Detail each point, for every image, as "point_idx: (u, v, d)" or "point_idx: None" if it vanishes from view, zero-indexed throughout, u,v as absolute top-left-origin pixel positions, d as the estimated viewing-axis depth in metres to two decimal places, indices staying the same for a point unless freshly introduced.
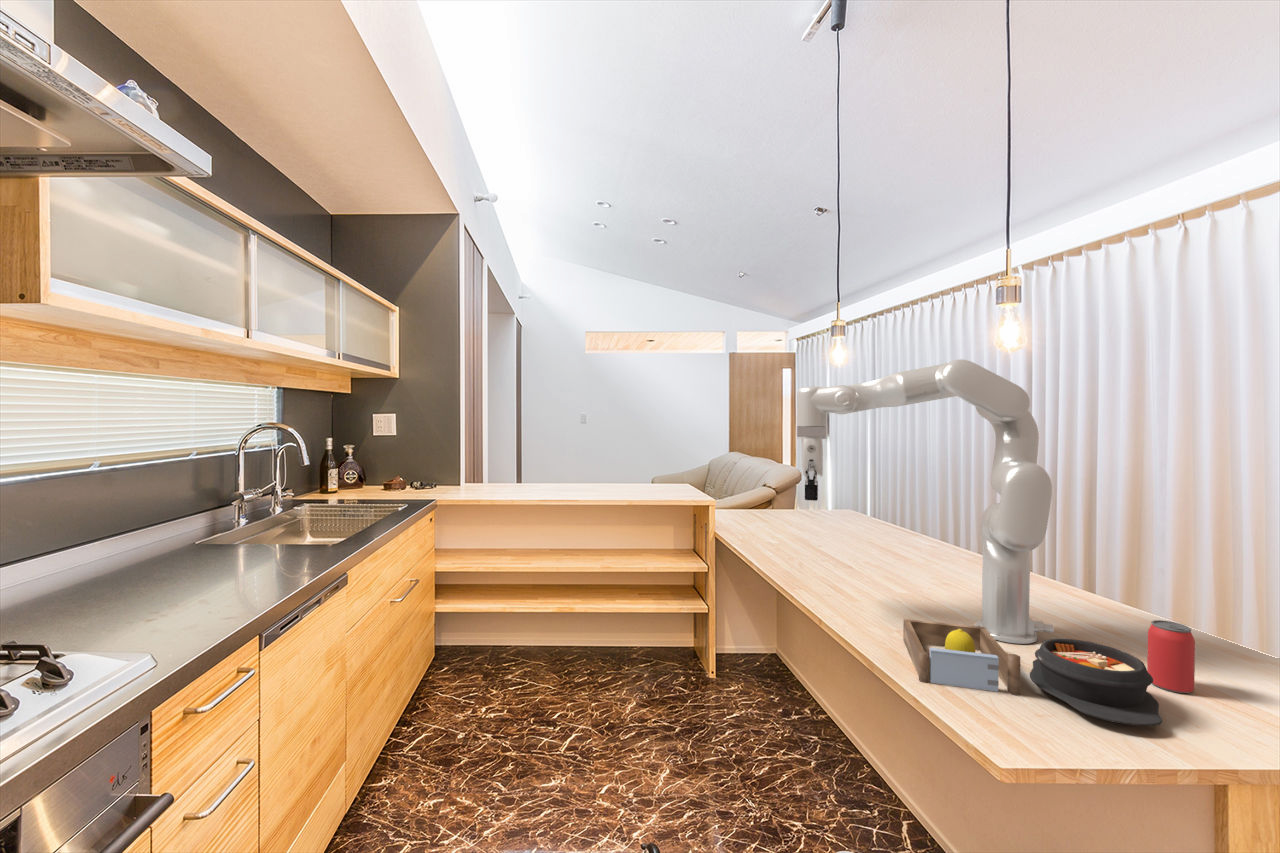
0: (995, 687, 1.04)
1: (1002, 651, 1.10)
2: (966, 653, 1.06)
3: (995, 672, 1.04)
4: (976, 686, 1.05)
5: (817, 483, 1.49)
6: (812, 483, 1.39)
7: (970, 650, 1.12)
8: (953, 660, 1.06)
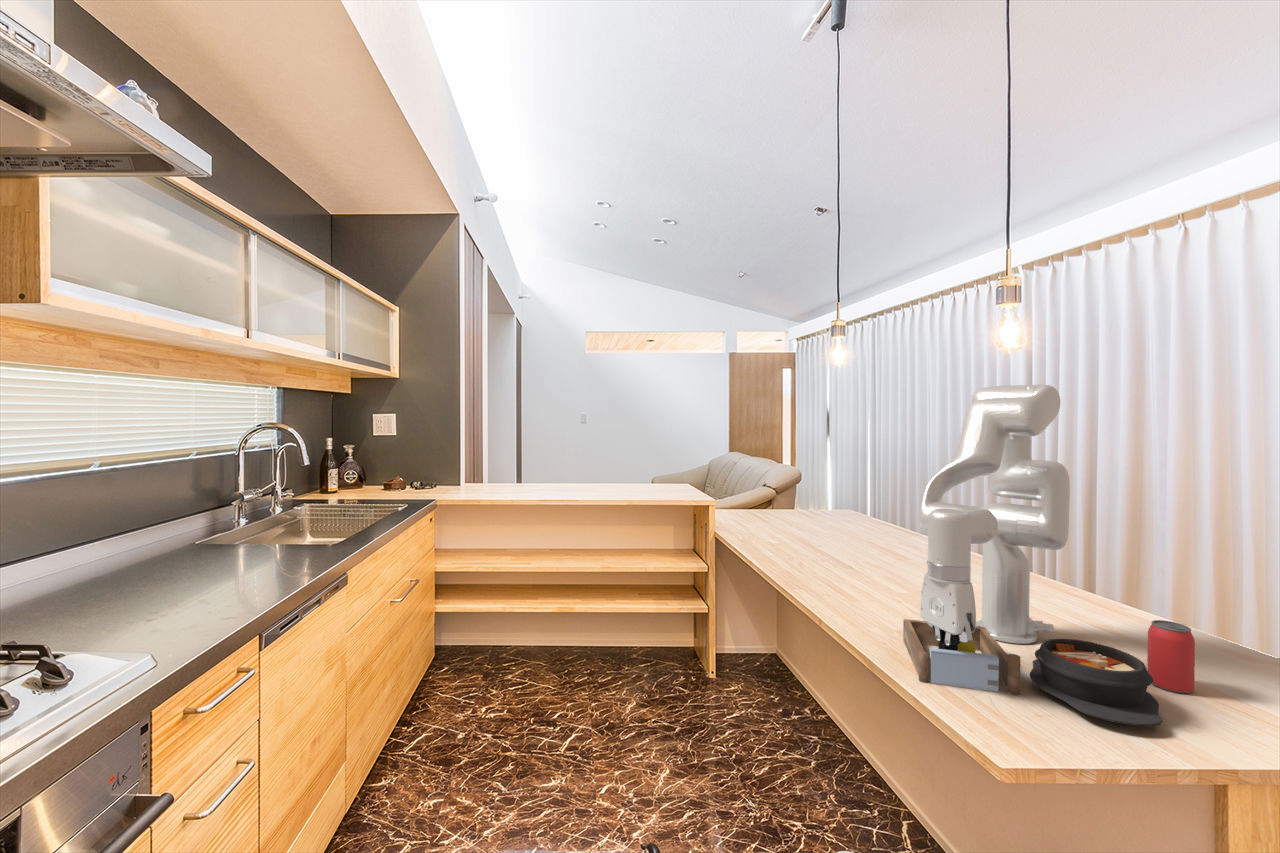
0: (995, 687, 1.04)
1: (1002, 651, 1.10)
2: (966, 653, 1.06)
3: (996, 672, 1.04)
4: (977, 686, 1.05)
5: (942, 647, 1.09)
6: None
7: (970, 650, 1.12)
8: (953, 660, 1.06)
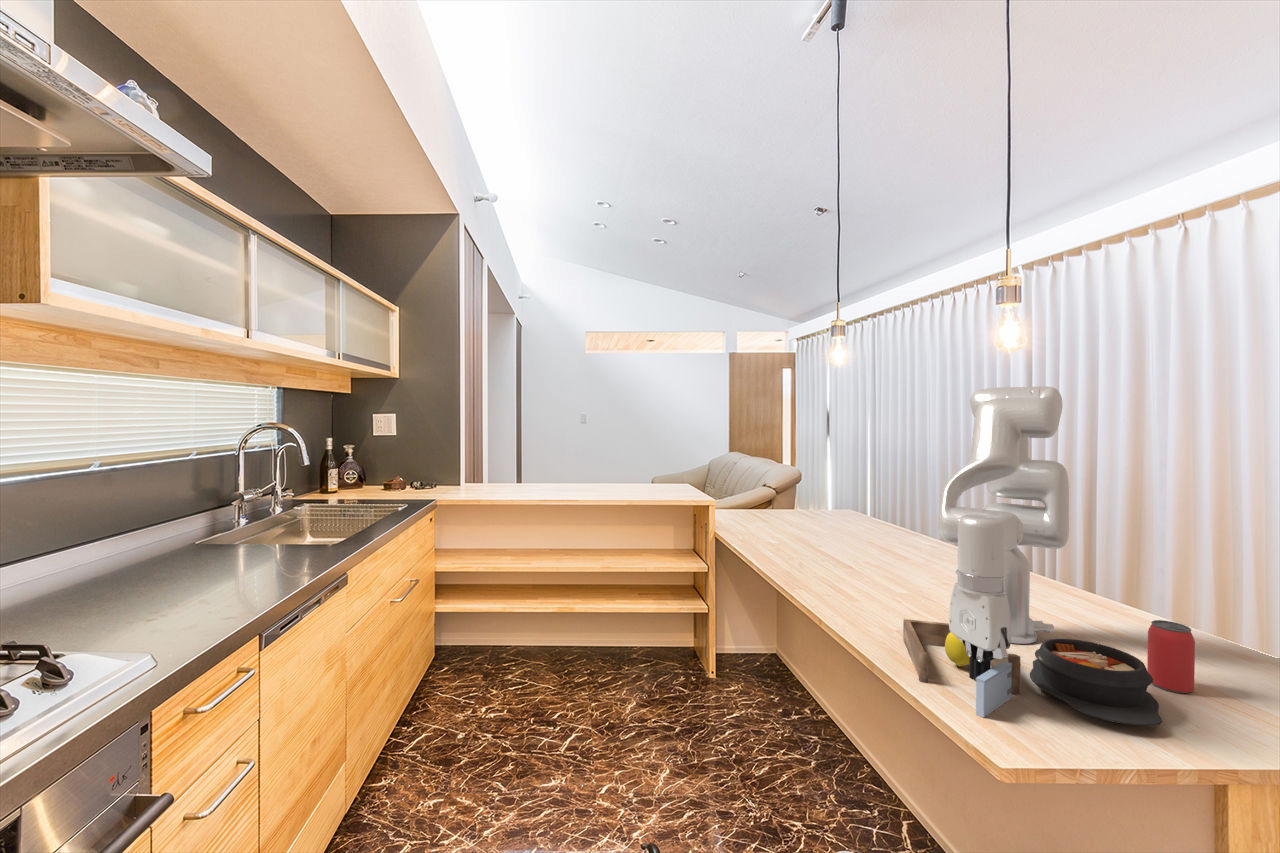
0: (1010, 694, 1.01)
1: None
2: (996, 670, 0.99)
3: (1010, 679, 1.01)
4: (1003, 701, 0.99)
5: (974, 663, 1.01)
6: None
7: None
8: (993, 683, 0.97)
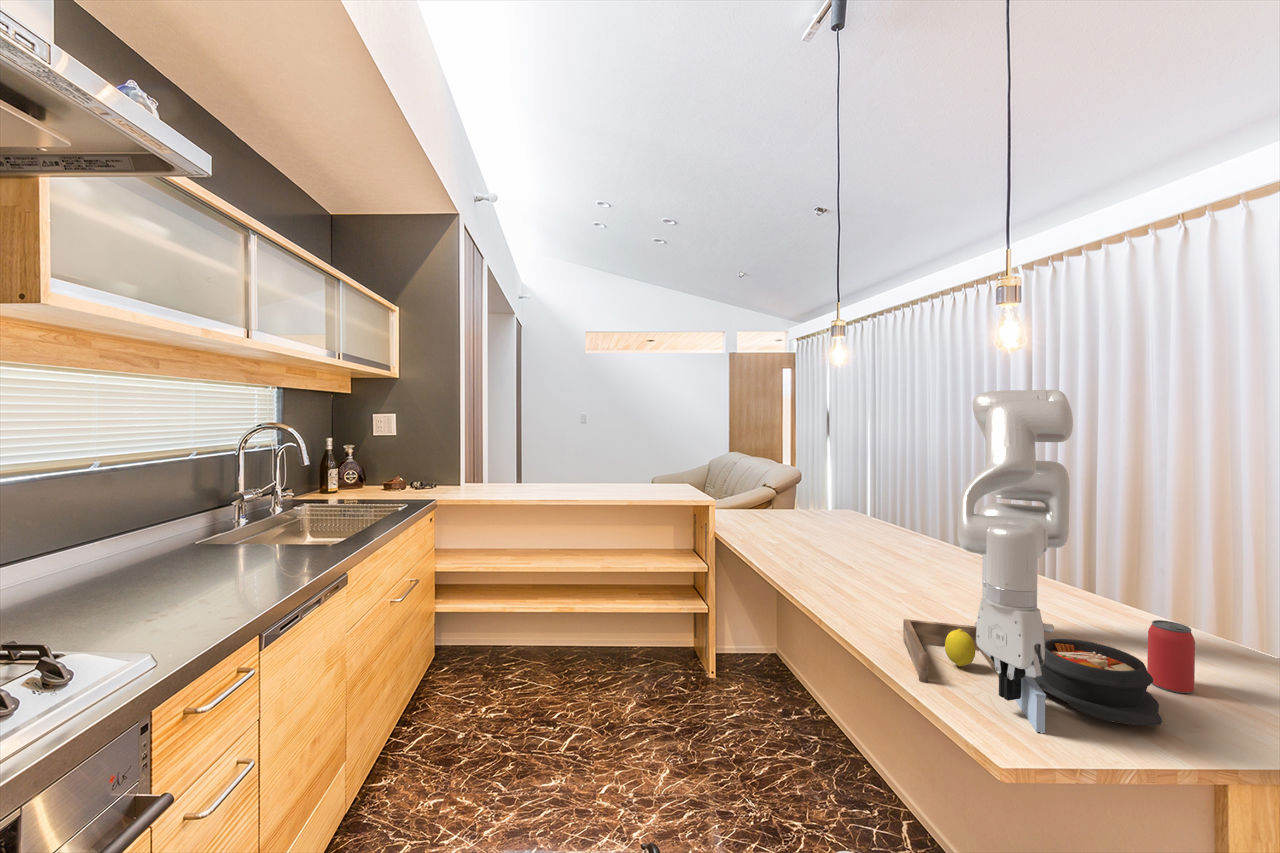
0: None
1: None
2: (1029, 677, 0.96)
3: None
4: None
5: (1004, 681, 0.96)
6: None
7: (970, 650, 1.12)
8: None
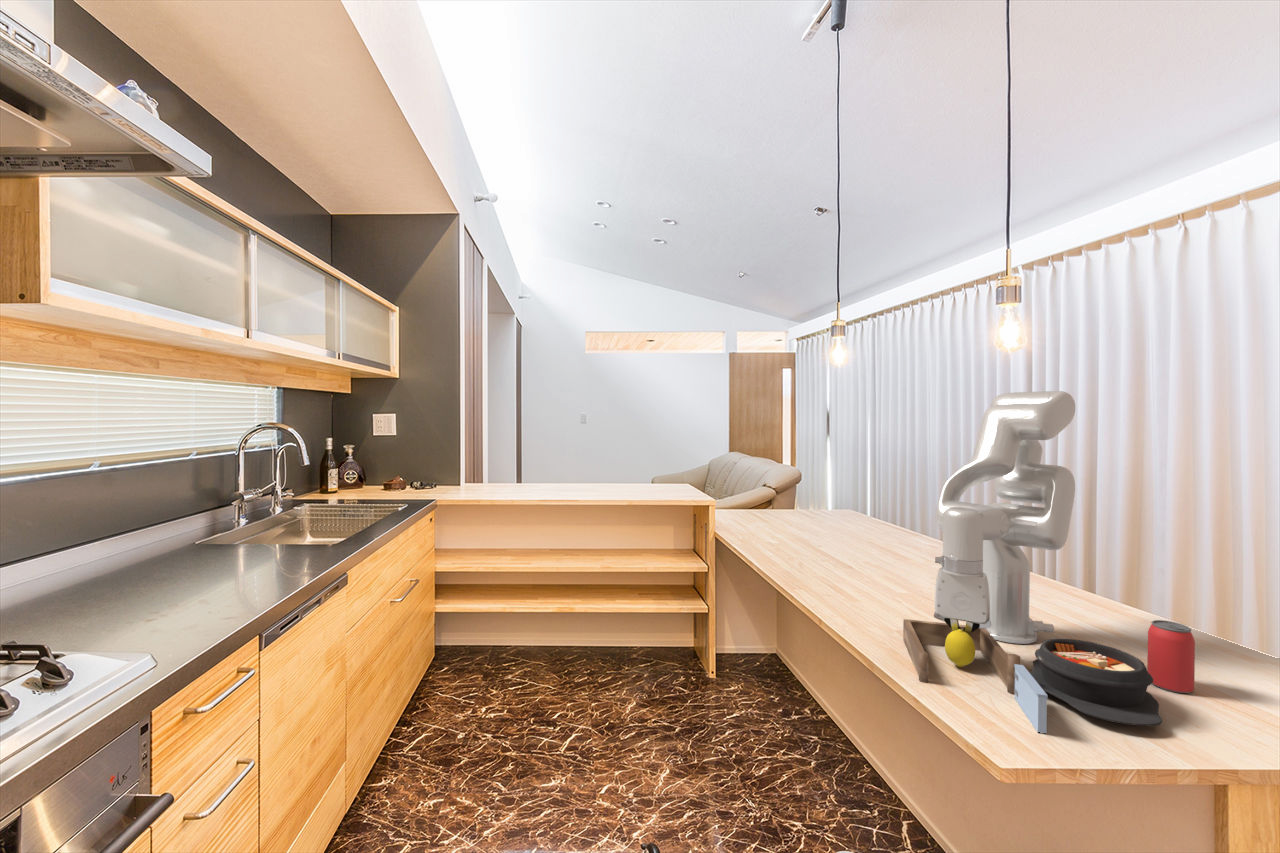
0: None
1: (1002, 651, 1.10)
2: (1030, 677, 0.96)
3: None
4: None
5: None
6: None
7: (970, 651, 1.11)
8: None
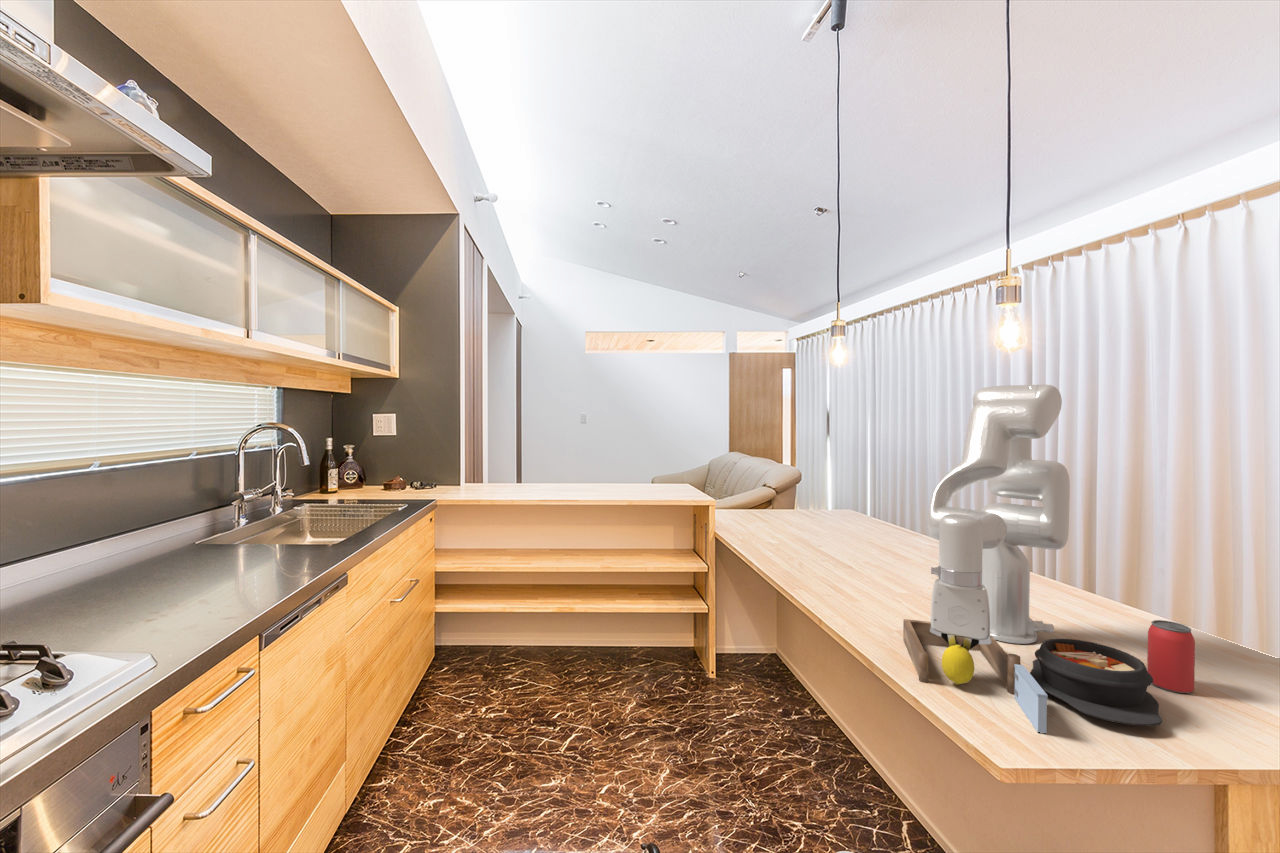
0: None
1: (1002, 651, 1.10)
2: (1030, 677, 0.96)
3: None
4: None
5: None
6: None
7: (969, 669, 1.04)
8: None
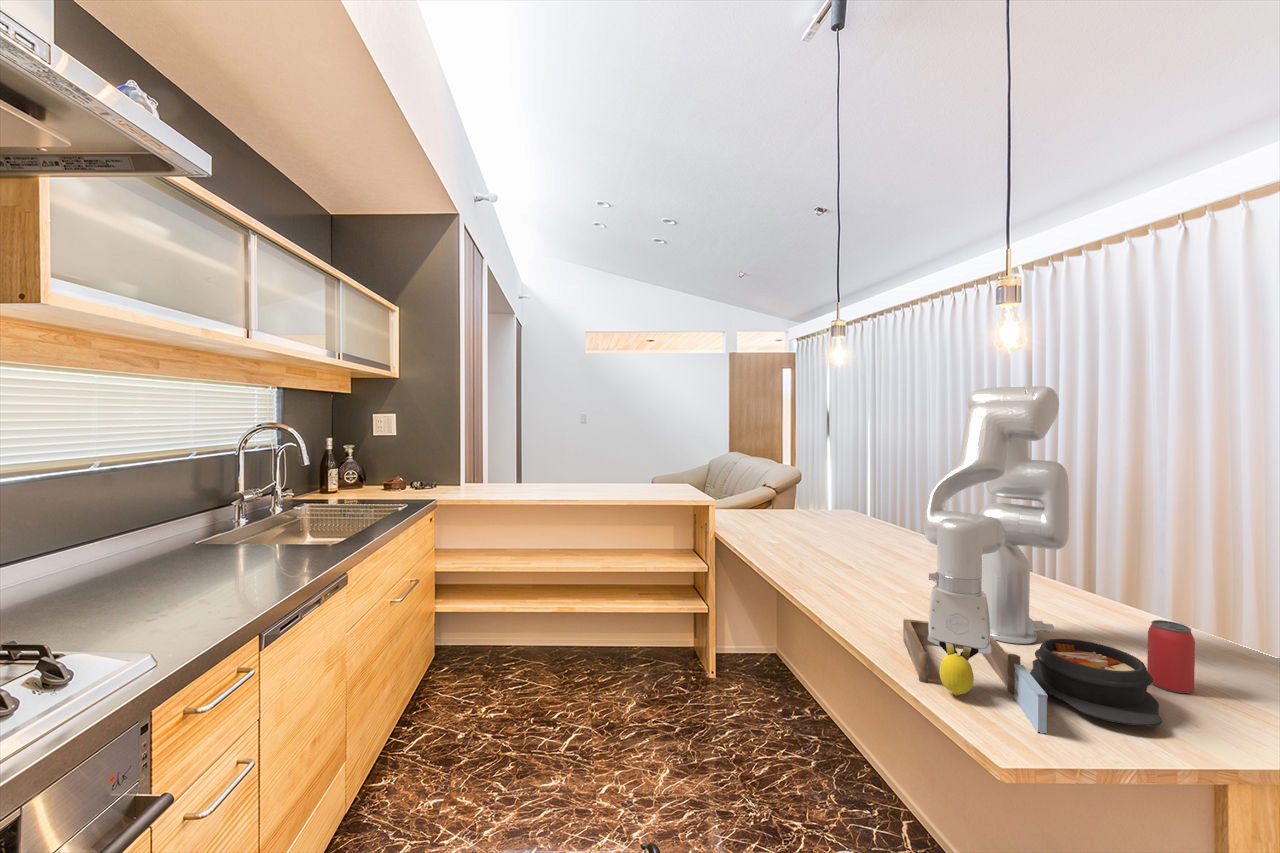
0: None
1: (1002, 651, 1.10)
2: (1030, 677, 0.96)
3: None
4: None
5: None
6: None
7: (968, 679, 1.00)
8: None
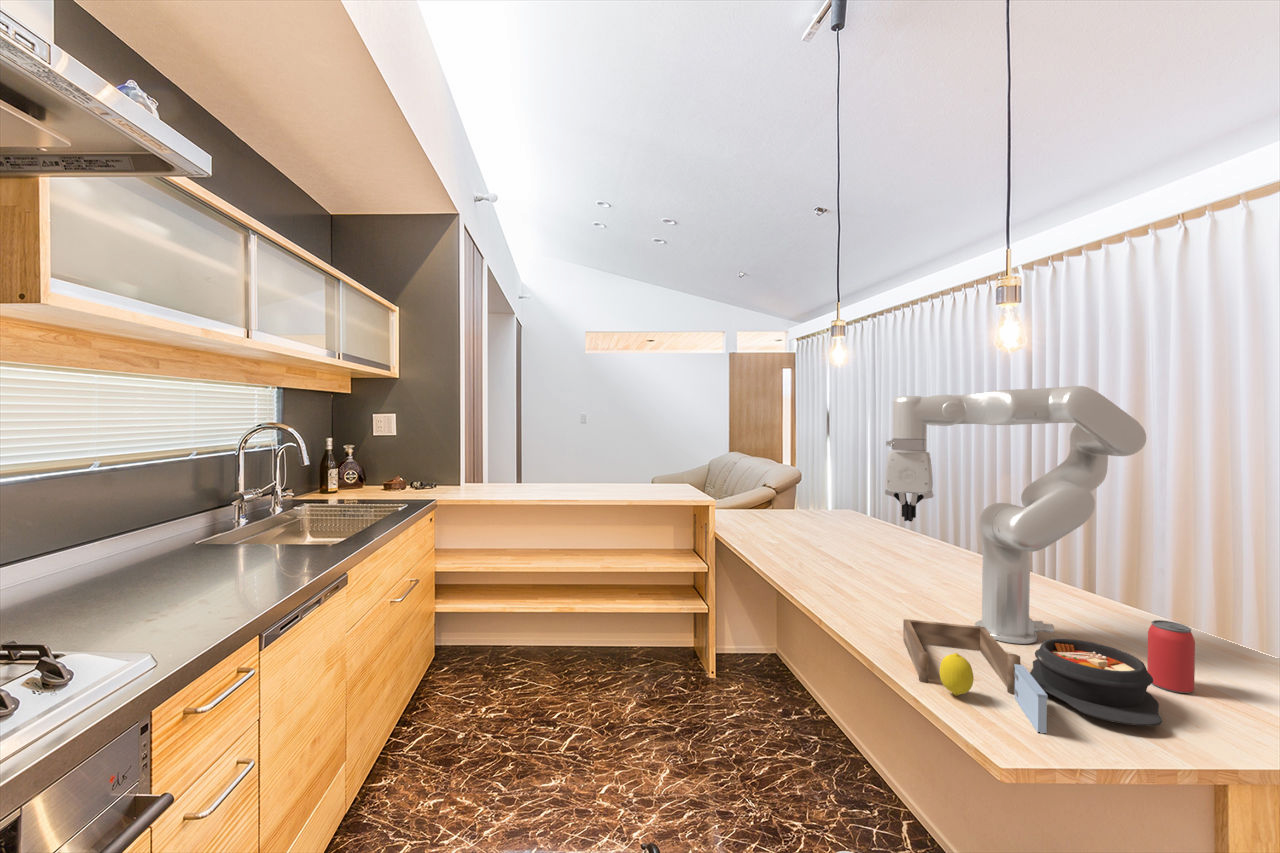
0: None
1: (1002, 651, 1.10)
2: (1030, 677, 0.96)
3: None
4: None
5: (909, 508, 1.33)
6: None
7: (968, 678, 1.00)
8: None
